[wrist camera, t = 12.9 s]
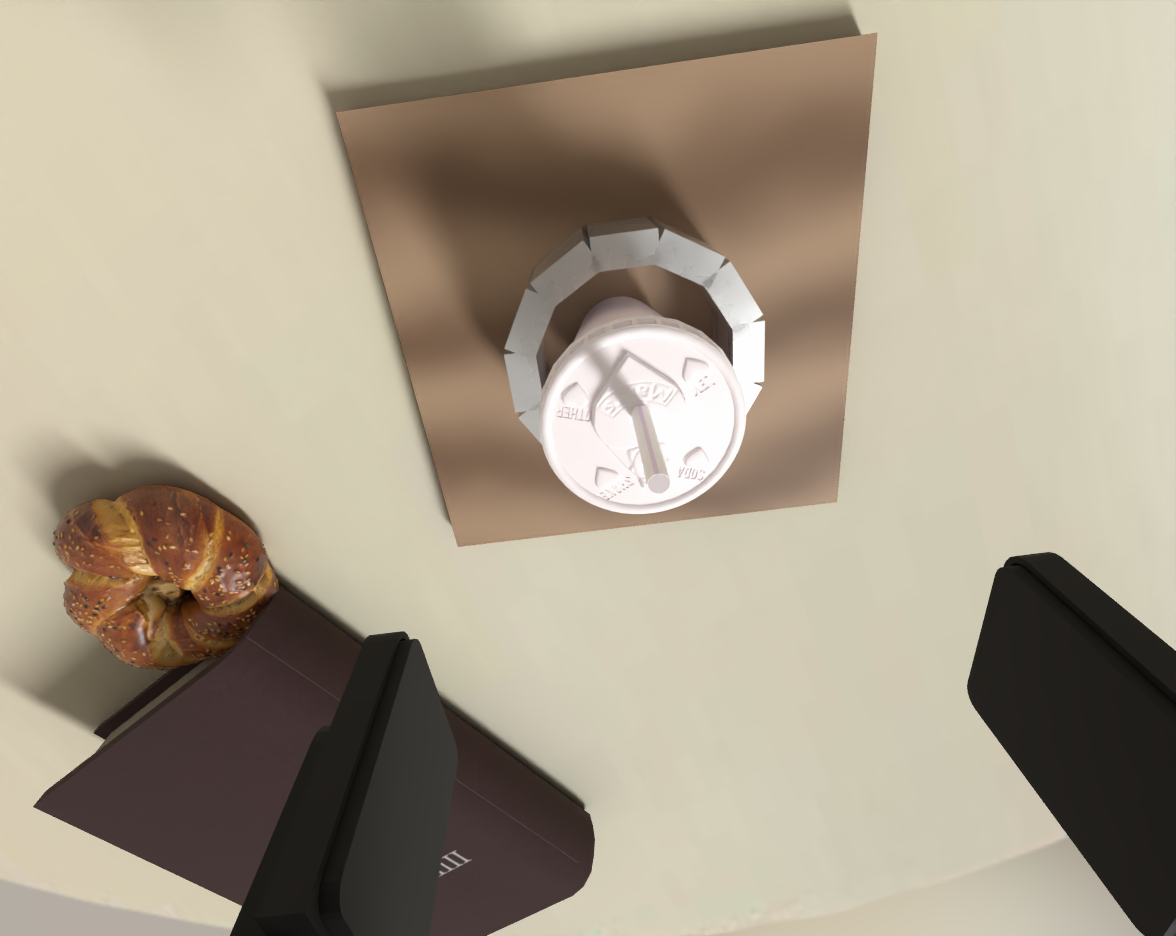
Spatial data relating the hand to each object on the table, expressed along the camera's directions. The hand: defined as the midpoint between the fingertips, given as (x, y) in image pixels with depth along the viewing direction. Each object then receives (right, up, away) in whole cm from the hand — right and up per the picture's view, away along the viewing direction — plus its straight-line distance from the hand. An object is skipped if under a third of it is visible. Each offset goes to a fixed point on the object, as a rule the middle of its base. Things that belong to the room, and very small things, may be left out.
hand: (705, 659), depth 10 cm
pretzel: (-24, -2, +24) cm, 34 cm away
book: (-18, -18, +33) cm, 41 cm away
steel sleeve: (0, +9, +17) cm, 19 cm away
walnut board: (0, +9, +18) cm, 20 cm away
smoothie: (-1, +9, +17) cm, 19 cm away
